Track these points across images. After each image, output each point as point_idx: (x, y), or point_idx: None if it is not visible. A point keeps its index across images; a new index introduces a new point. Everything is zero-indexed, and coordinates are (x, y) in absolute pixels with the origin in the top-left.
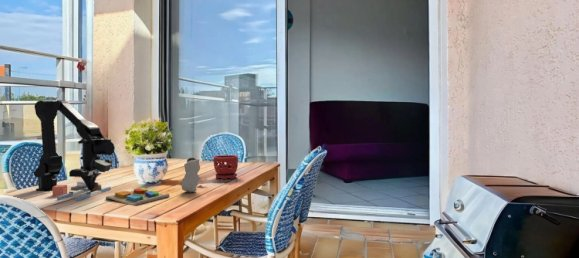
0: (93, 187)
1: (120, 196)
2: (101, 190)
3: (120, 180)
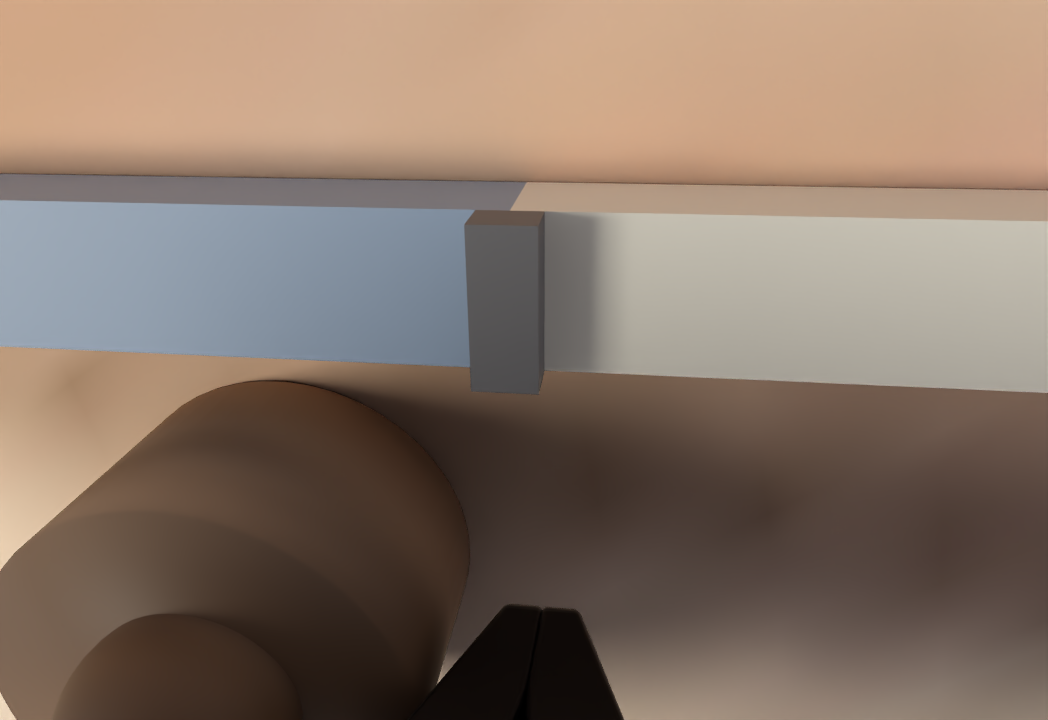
0: (426, 646)
1: None
2: (484, 205)
3: None
